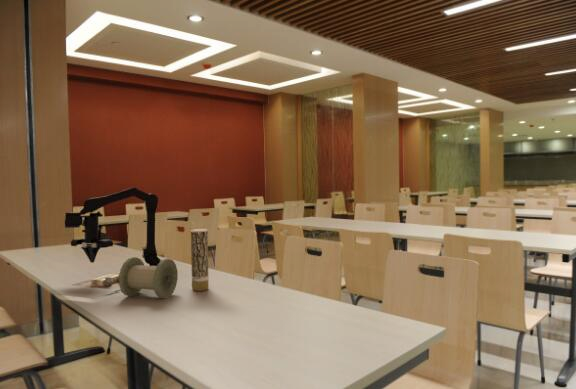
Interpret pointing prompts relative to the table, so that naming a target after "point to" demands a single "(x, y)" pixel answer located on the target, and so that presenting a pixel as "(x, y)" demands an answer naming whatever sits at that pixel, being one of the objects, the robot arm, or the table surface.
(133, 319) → the table surface
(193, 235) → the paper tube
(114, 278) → the maple plate
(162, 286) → the spool
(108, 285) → the board
